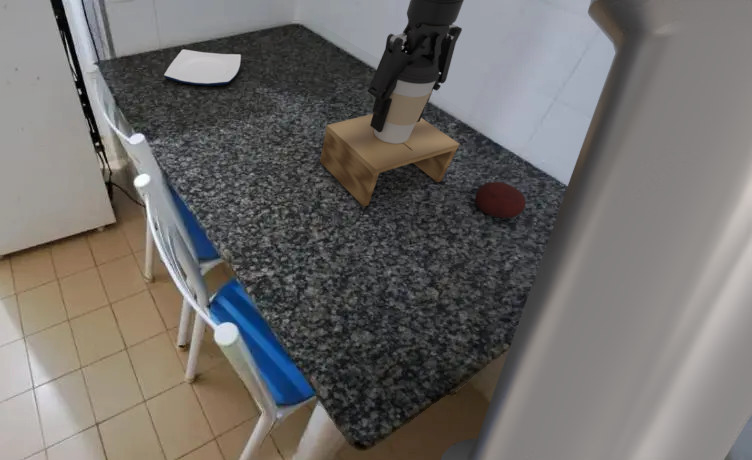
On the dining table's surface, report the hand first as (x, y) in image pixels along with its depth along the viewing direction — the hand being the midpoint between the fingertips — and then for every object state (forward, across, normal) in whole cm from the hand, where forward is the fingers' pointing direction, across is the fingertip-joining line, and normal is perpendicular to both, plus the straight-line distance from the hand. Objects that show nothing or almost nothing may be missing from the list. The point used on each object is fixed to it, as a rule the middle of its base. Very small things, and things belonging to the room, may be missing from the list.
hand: (395, 123), depth 76 cm
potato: (+12, -12, +19) cm, 25 cm away
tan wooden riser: (+12, 0, 0) cm, 12 cm away
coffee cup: (+3, 0, 0) cm, 3 cm away
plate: (+12, +18, -59) cm, 63 cm away
